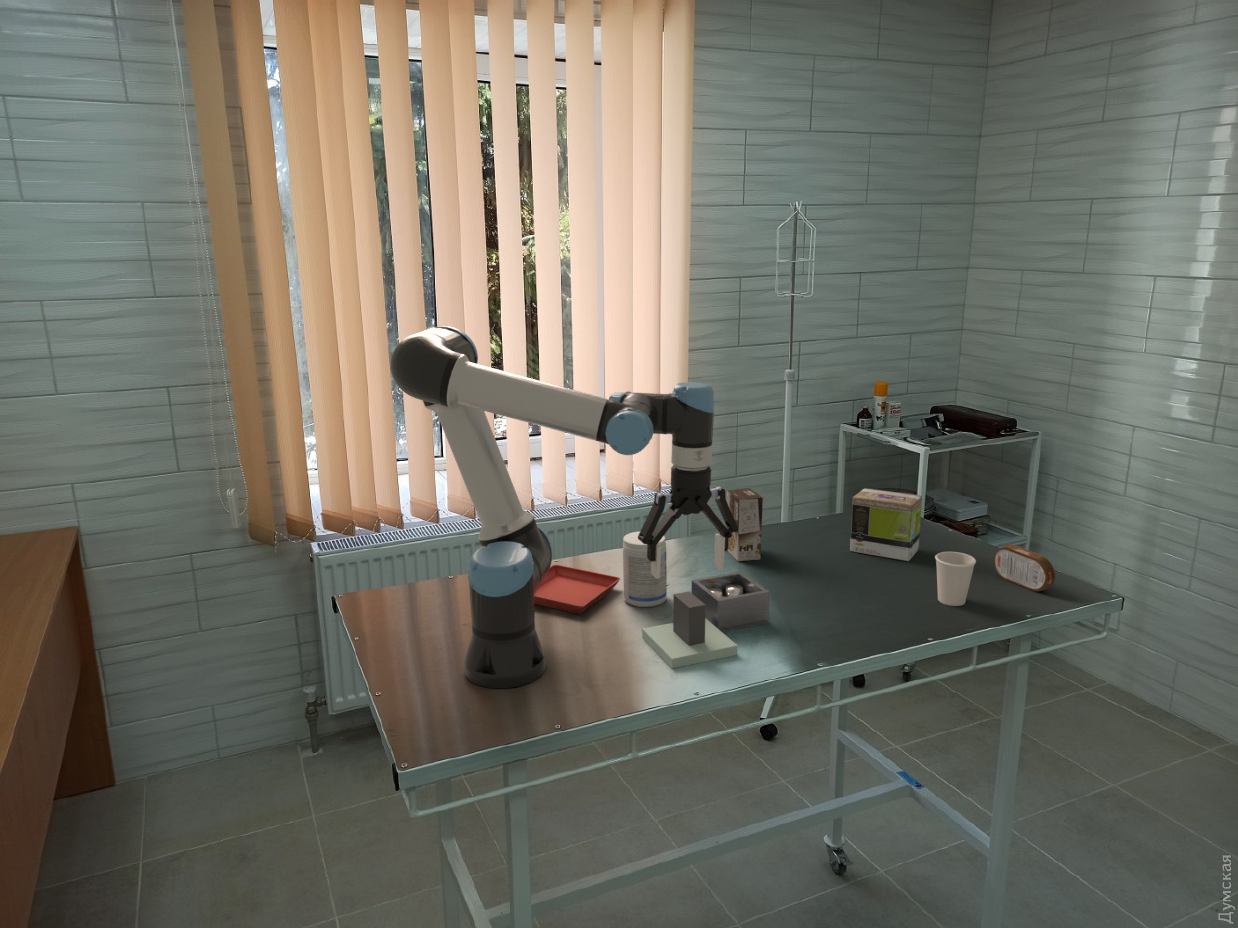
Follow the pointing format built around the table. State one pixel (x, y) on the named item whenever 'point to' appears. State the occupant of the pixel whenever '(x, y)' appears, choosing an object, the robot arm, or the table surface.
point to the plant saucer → (572, 588)
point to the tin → (1024, 567)
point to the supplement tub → (642, 573)
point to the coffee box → (745, 524)
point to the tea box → (886, 523)
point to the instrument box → (732, 601)
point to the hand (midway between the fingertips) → (687, 571)
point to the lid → (688, 635)
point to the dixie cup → (953, 577)
